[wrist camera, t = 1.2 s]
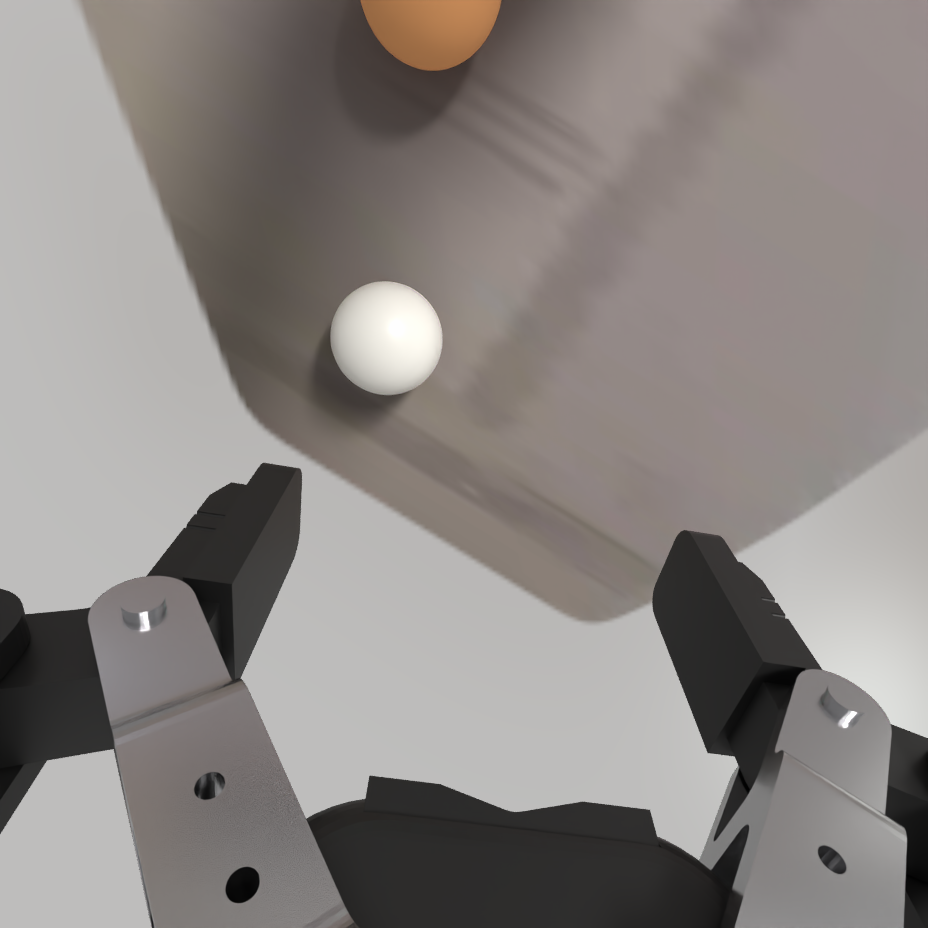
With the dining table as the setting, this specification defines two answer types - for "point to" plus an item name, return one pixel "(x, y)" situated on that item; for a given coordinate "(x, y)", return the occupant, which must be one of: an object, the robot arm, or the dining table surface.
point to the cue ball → (386, 338)
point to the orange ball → (431, 29)
